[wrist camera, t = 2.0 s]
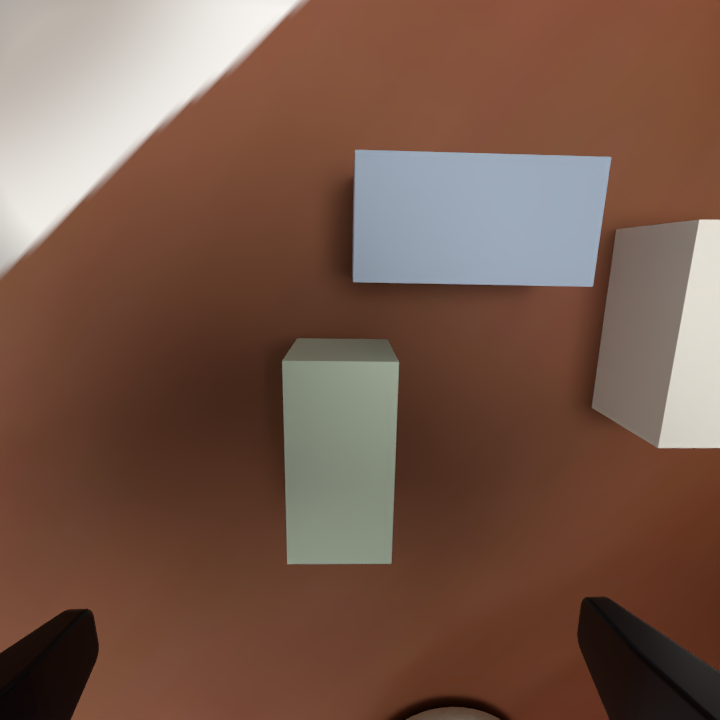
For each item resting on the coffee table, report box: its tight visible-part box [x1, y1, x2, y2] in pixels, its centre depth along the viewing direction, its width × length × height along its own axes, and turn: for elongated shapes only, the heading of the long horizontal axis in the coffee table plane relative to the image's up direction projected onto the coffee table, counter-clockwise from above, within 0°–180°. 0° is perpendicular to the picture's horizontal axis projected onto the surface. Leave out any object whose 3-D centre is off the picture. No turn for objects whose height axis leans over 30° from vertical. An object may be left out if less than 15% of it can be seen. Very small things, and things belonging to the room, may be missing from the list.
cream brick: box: [592, 220, 720, 448], centre depth 15 cm, size 7×4×4 cm, turn 0°
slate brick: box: [352, 150, 611, 287], centre depth 14 cm, size 7×4×4 cm, turn 89°
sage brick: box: [282, 338, 399, 564], centre depth 15 cm, size 7×4×4 cm, turn 179°
